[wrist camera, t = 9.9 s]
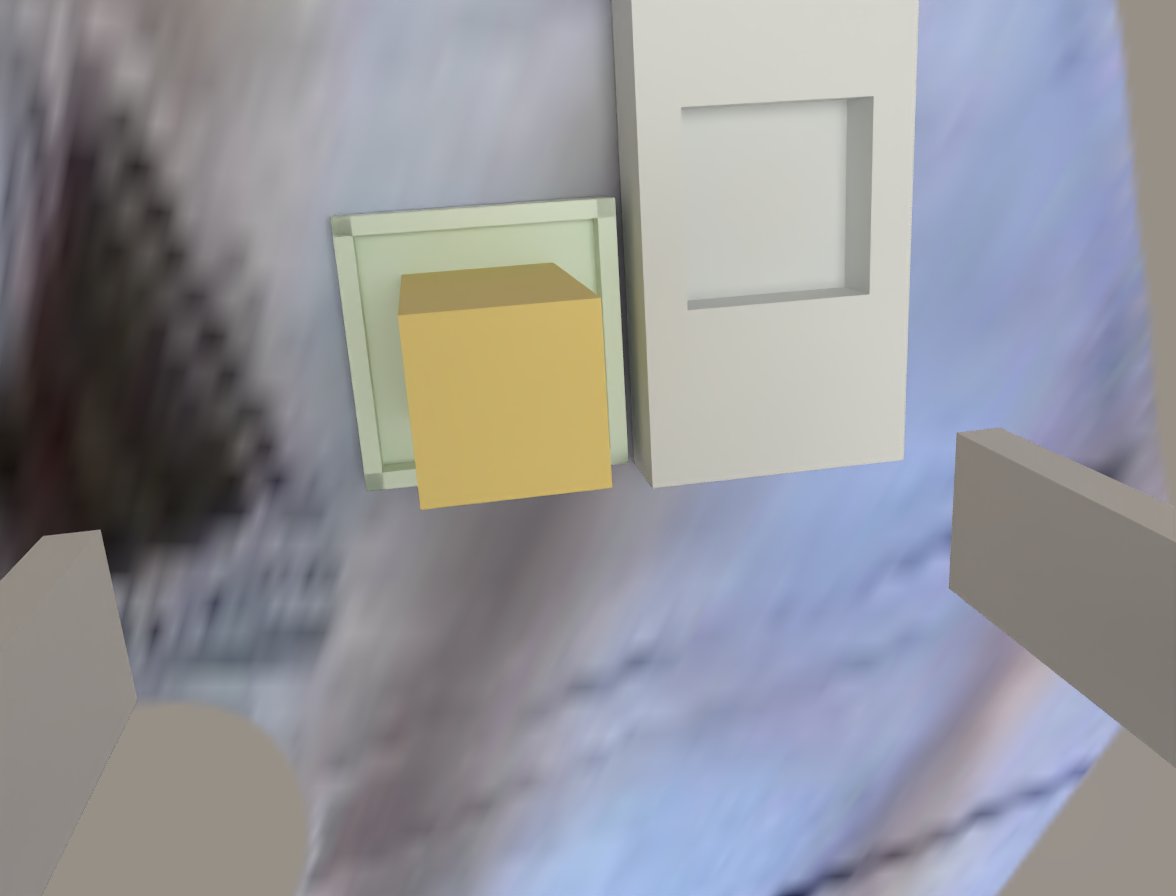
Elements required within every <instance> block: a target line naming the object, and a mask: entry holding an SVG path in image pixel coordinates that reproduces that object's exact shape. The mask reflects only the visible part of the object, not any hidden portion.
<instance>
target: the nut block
mask: <svg viewBox="0 0 1176 896" xmlns="http://www.w3.org/2000/svg"><path fill="white" fill-rule="evenodd" d="M398 323H399V331H400V340H401V348H402V357H403V365H404V374H405V382H406V391H407V399H408V407H409V416H410V424H411V433H412V441H413V450H414V458H415V467H416V475H417V484H418V492H419V500H420V509H421V510H423V509H432V508H440V507H449V506H458V505H467V504H475V503H484V502H493V501H501V500H510V499H519V498H528V497H536V496H545V495H554V494H562V493H571V492H580V491H589V490H597V489H606V488H612V475H611V458H610V441H609V424H608V407H607V389H606V372H605V355H604V338H603V321H602V304H601V297H599V296H598V295H597V294H595V293H594V292H593V291H591V290H590V289H589V288H587V287H586V286H584V285H583V284H582V283H580V282H579V281H578V280H576V279H575V278H574V277H572V276H571V275H570V274H568V273H567V272H566V271H564V270H563V269H561V268H560V267H559V266H557V265H556V264H555V263H553V262H551V263H539V264H526V265H514V266H502V267H489V268H477V269H465V270H452V271H440V272H428V273H415V274H403V275H402V279H401V288H400V298H399V307H398Z"/></svg>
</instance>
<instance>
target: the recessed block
mask: <svg viewBox="0 0 1176 896" xmlns="http://www.w3.org/2000/svg"><path fill="white" fill-rule="evenodd" d="M611 4H612V24H613V44H614V65H615V85H616V105H617V126H618V146H619V166H620V186H621V207H622V227H623V247H624V268H625V288H626V308H627V329H628V349H629V369H630V390H631V410H632V430H633V451H634V463H635V464H636V466H637V467H638V469H639V470H640V471H641V473H642V474H643V475H644V477H645V478H646V480H647V481H648V482H649V484H650V485H651V486H652V488H659V487H668V486H677V485H686V484H695V483H703V482H712V481H721V480H730V479H739V478H748V477H756V476H765V475H774V474H783V473H792V472H800V471H809V470H818V469H827V468H836V467H844V466H853V465H862V464H871V463H880V462H889V461H897V460H904V433H905V403H906V373H907V343H908V313H909V283H910V253H911V222H912V192H913V162H914V132H915V102H916V72H917V42H918V11H919V0H611Z"/></svg>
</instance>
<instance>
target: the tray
mask: <svg viewBox="0 0 1176 896" xmlns="http://www.w3.org/2000/svg"><path fill="white" fill-rule="evenodd" d="M330 219H331V227H332V234H333V242H334V250H335V257H336V265H337V272H338V280H339V287H340V295H341V302H342V310H343V318H344V325H345V333H346V340H347V348H348V355H349V363H350V371H351V378H352V386H353V393H354V401H355V408H356V416H357V424H358V431H359V439H360V446H361V454H362V461H363V469H364V476H365V484H366V491H376V490H385V489H394V488H403V487H412V486H418V484H417V475H416V467H415V458H414V450H413V441H412V433H411V424H410V416H409V407H408V399H407V391H406V382H405V374H404V365H403V357H402V348H401V340H400V331H399V323H398V307H399V298H400V288H401V279H402V275H403V274H415V273H428V272H440V271H452V270H465V269H477V268H489V267H502V266H514V265H526V264H539V263H551V262H553V263H555V264H556V265H557V266H559V267H560V268H561V269H563V270H564V271H566V272H567V273H568V274H570V275H571V276H572V277H574V278H575V279H576V280H578V281H579V282H580V283H582V284H583V285H584V286H586V287H587V288H589V289H590V290H591V291H593V292H594V293H595V294H597V295H598V296H599V297H601V304H602V321H603V338H604V355H605V372H606V389H607V407H608V424H609V441H610V458H611V465H613V464H622V463H628V445H627V425H626V405H625V386H624V366H623V346H622V327H621V307H620V288H619V268H618V248H617V229H616V209H615V198H614V197H609V196H600V197H586V198H572V199H558V200H543V201H529V202H515V203H501V204H486V205H472V206H458V207H443V208H429V209H415V210H401V211H386V212H372V213H358V214H344V215H334V216H332V217H331V218H330Z"/></svg>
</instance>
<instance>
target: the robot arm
mask: <svg viewBox="0 0 1176 896" xmlns="http://www.w3.org/2000/svg"><path fill="white" fill-rule="evenodd" d="M949 589H950V590H952V591H953V592H954V593H956V594H957V595H958V596H959V597H961V598H962V599H963V600H964V601H966V602H967V603H968V604H969V605H971V606H972V607H973V608H974V609H976V610H977V611H978V612H979V613H981V614H982V615H983V616H985V617H986V618H987V619H988V620H990V621H991V622H992V623H993V624H995V625H996V626H997V627H998V628H1000V629H1001V630H1002V631H1003V632H1005V633H1006V634H1007V635H1009V636H1010V637H1011V638H1012V639H1014V640H1015V641H1016V642H1017V643H1019V644H1020V645H1021V646H1022V647H1024V648H1025V649H1026V650H1027V651H1029V652H1030V653H1031V654H1032V655H1034V656H1035V657H1036V658H1038V659H1039V660H1040V661H1041V662H1043V663H1044V664H1045V665H1046V666H1048V667H1049V668H1050V669H1051V670H1053V671H1054V672H1055V673H1056V674H1058V675H1059V676H1060V677H1061V678H1063V679H1064V680H1065V681H1067V682H1068V683H1069V684H1070V685H1072V686H1073V687H1074V688H1075V689H1077V690H1078V691H1079V692H1080V693H1082V694H1083V695H1084V696H1085V697H1087V698H1088V699H1089V700H1091V701H1092V702H1093V703H1094V704H1096V705H1097V706H1098V707H1099V708H1101V709H1102V710H1103V711H1104V712H1106V713H1107V714H1108V715H1109V716H1111V717H1112V718H1113V719H1114V720H1116V721H1117V722H1118V723H1120V724H1121V725H1122V726H1123V727H1125V728H1126V729H1127V730H1129V731H1130V732H1131V733H1132V734H1133V735H1135V736H1136V737H1137V738H1138V739H1140V740H1141V741H1142V742H1144V743H1145V744H1146V745H1147V746H1149V747H1150V748H1151V749H1153V750H1154V751H1155V752H1156V753H1157V754H1159V755H1160V756H1161V757H1162V758H1164V759H1165V760H1166V761H1167V762H1169V763H1170V764H1171V765H1173V766H1174V767H1175V768H1176V507H1173V506H1171V505H1169V504H1167V503H1165V502H1162V501H1160V500H1158V499H1156V498H1154V497H1151V496H1149V495H1147V494H1145V493H1143V492H1140V491H1138V490H1136V489H1134V488H1132V487H1129V486H1127V485H1125V484H1123V483H1121V482H1118V481H1116V480H1114V479H1112V478H1110V477H1107V476H1105V475H1103V474H1101V473H1099V472H1096V471H1094V470H1092V469H1090V468H1088V467H1085V466H1083V465H1081V464H1079V463H1077V462H1074V461H1072V460H1070V459H1068V458H1066V457H1063V456H1061V455H1059V454H1057V453H1055V452H1052V451H1050V450H1048V449H1046V448H1044V447H1041V446H1039V445H1037V444H1035V443H1033V442H1030V441H1028V440H1026V439H1024V438H1022V437H1019V436H1017V435H1015V434H1013V433H1011V432H1008V431H1006V430H1004V429H1002V428H994V429H985V430H976V431H967V432H958V433H957V437H956V457H955V476H954V496H953V516H952V536H951V555H950V575H949ZM137 701H138V700H137V695H136V691H135V686H134V682H133V677H132V672H131V668H130V663H129V659H128V654H127V649H126V645H125V640H124V636H123V631H122V626H121V622H120V617H119V613H118V608H117V604H116V599H115V594H114V590H113V585H112V581H111V576H110V571H109V567H108V562H107V558H106V553H105V549H104V544H103V539H102V535H101V530H93V531H85V532H76V533H67V534H58V535H49V536H43V537H42V538H41V539H40V540H39V541H38V542H37V543H36V544H35V545H34V546H33V547H32V548H31V549H30V550H29V551H28V552H27V553H26V555H25V556H24V557H23V558H22V559H21V560H20V561H19V562H18V563H17V564H16V565H15V566H14V567H13V568H12V569H11V570H10V571H9V572H8V573H7V574H6V576H5V577H4V578H3V579H2V580H1V581H0V896H42V894H43V892H44V890H45V888H46V886H47V884H48V882H49V880H50V878H51V876H52V874H53V872H54V870H55V868H56V866H57V864H58V861H59V860H60V858H61V856H62V854H63V852H64V849H65V847H66V846H67V843H68V841H69V839H70V837H71V835H72V833H73V831H74V829H75V827H76V825H77V823H78V821H79V819H80V817H81V815H82V813H83V811H84V809H85V807H86V805H87V803H88V801H89V799H90V797H91V794H92V792H93V791H94V788H95V786H96V784H97V782H98V780H99V778H100V776H101V774H102V772H103V770H104V768H105V766H106V764H107V762H108V760H109V758H110V756H111V754H112V752H113V750H114V748H115V745H116V743H117V742H118V739H119V737H120V735H121V733H122V731H123V729H124V727H125V725H126V723H127V721H128V719H129V717H130V715H131V713H132V711H133V709H134V707H135V705H136V703H137Z"/></svg>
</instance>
